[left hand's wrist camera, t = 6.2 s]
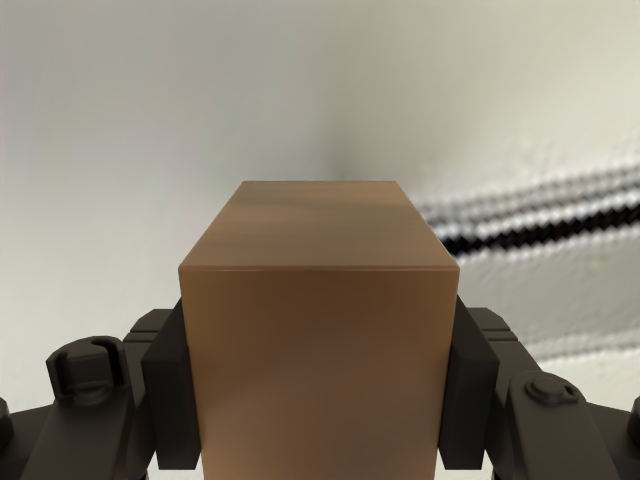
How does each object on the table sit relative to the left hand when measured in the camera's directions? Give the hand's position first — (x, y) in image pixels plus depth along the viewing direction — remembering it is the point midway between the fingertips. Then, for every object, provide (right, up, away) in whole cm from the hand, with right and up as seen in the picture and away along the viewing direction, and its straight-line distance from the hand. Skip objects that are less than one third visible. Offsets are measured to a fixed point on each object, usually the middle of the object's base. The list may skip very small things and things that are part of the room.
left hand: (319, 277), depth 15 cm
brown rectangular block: (0, 0, +1) cm, 1 cm away
